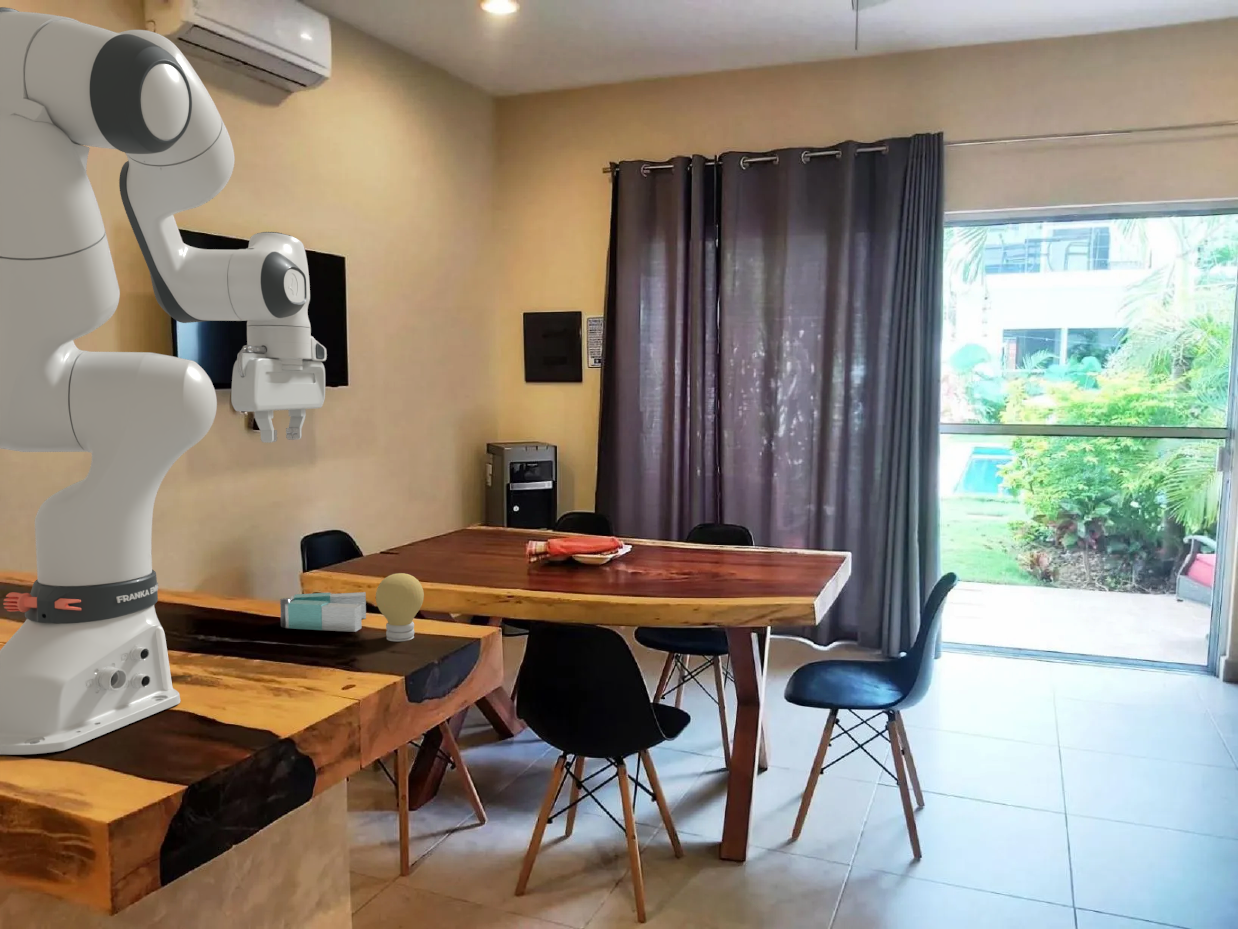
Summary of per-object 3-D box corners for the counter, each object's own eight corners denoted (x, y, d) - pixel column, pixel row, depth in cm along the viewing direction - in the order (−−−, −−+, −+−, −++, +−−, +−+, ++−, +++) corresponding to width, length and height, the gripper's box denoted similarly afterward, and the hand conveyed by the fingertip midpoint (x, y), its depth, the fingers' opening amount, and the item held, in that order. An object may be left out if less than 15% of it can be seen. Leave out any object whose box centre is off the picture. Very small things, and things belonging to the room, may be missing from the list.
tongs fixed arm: (355, 632, 126) (354, 604, 126) (277, 628, 128) (276, 600, 127) (361, 628, 128) (361, 601, 128) (285, 624, 130) (284, 597, 130)
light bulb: (375, 653, 120) (373, 579, 119) (377, 640, 126) (376, 569, 125) (424, 651, 121) (423, 577, 120) (424, 637, 127) (423, 568, 126)
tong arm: (365, 618, 133) (365, 593, 133) (290, 623, 130) (290, 598, 130) (365, 614, 135) (365, 590, 135) (291, 619, 132) (291, 594, 132)
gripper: (260, 344, 122) (262, 445, 123) (332, 350, 142) (333, 437, 143) (217, 344, 123) (220, 444, 124) (295, 350, 143) (297, 436, 144)
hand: (281, 440), depth 134 cm, fingers open, 5 cm apart
